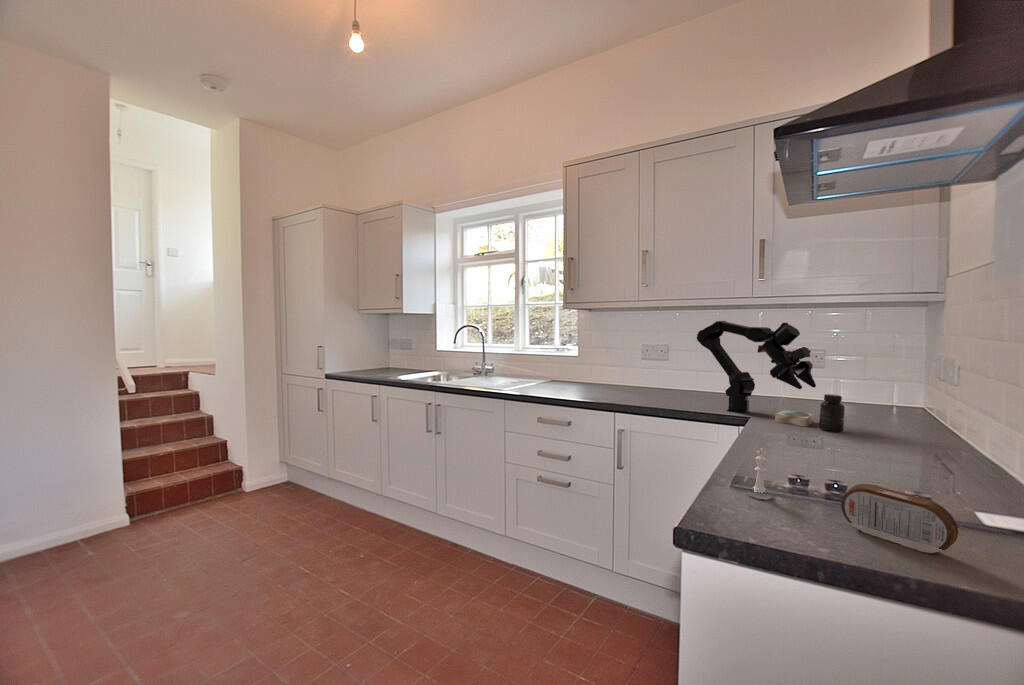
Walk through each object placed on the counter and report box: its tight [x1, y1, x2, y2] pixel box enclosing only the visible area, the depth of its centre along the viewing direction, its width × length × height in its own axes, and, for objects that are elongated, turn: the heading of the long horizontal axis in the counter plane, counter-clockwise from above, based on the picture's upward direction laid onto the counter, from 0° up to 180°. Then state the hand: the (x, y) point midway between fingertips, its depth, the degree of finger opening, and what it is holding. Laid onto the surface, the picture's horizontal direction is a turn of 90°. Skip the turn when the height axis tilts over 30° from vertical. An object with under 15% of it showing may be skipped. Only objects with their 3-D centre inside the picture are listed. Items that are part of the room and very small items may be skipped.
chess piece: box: [752, 448, 767, 493], centre depth 95 cm, size 5×5×10 cm
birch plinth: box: [774, 409, 815, 427], centre depth 166 cm, size 10×10×3 cm
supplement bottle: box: [818, 393, 846, 433], centre depth 153 cm, size 7×7×12 cm
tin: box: [840, 483, 959, 551], centre depth 76 cm, size 15×3×8 cm, turn 35°
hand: (808, 387), depth 160 cm, fingers open, 9 cm apart
